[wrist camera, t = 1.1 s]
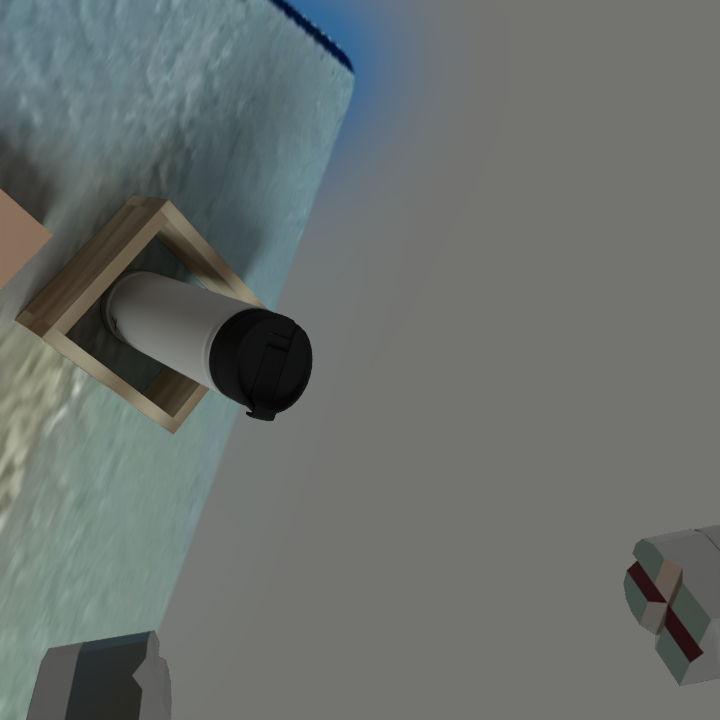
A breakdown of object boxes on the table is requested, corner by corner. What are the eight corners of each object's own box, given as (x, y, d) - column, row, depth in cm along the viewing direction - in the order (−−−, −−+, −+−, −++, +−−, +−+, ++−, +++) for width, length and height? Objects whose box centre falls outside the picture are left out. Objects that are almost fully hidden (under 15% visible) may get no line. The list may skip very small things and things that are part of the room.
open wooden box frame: (14, 319, 44) (41, 337, 40) (132, 194, 48) (168, 199, 44) (140, 411, 53) (173, 434, 49) (232, 300, 56) (269, 312, 52)
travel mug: (87, 336, 48) (220, 413, 34) (115, 258, 48) (259, 304, 34) (156, 354, 52) (298, 429, 39) (182, 283, 53) (333, 333, 39)
